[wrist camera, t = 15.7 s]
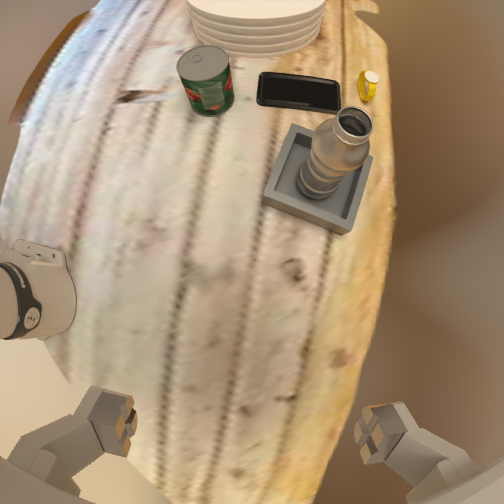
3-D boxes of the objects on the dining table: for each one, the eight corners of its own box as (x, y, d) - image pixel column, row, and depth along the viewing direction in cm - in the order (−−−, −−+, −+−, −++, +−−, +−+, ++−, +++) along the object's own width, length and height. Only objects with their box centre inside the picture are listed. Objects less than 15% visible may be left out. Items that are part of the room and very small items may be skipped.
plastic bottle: (289, 167, 43) (311, 97, 23) (329, 160, 43) (372, 92, 23) (300, 206, 43) (333, 157, 23) (341, 197, 43) (397, 148, 23)
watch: (371, 106, 45) (382, 92, 39) (357, 104, 45) (368, 90, 39) (365, 81, 45) (375, 65, 39) (352, 79, 45) (361, 63, 39)
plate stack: (214, -12, 48) (209, -43, 37) (323, 0, 48) (330, -32, 36) (176, 54, 47) (162, 17, 35) (313, 70, 46) (323, 31, 34)
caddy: (262, 203, 44) (262, 194, 39) (288, 137, 45) (292, 122, 40) (341, 235, 44) (351, 230, 39) (362, 167, 44) (373, 157, 39)
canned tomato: (243, 97, 46) (240, 59, 35) (210, 124, 45) (199, 89, 34) (214, 76, 46) (205, 38, 35) (182, 101, 46) (166, 65, 35)
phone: (259, 71, 45) (339, 81, 45) (259, 74, 46) (338, 84, 46) (255, 103, 45) (341, 114, 44) (256, 107, 46) (339, 117, 45)
